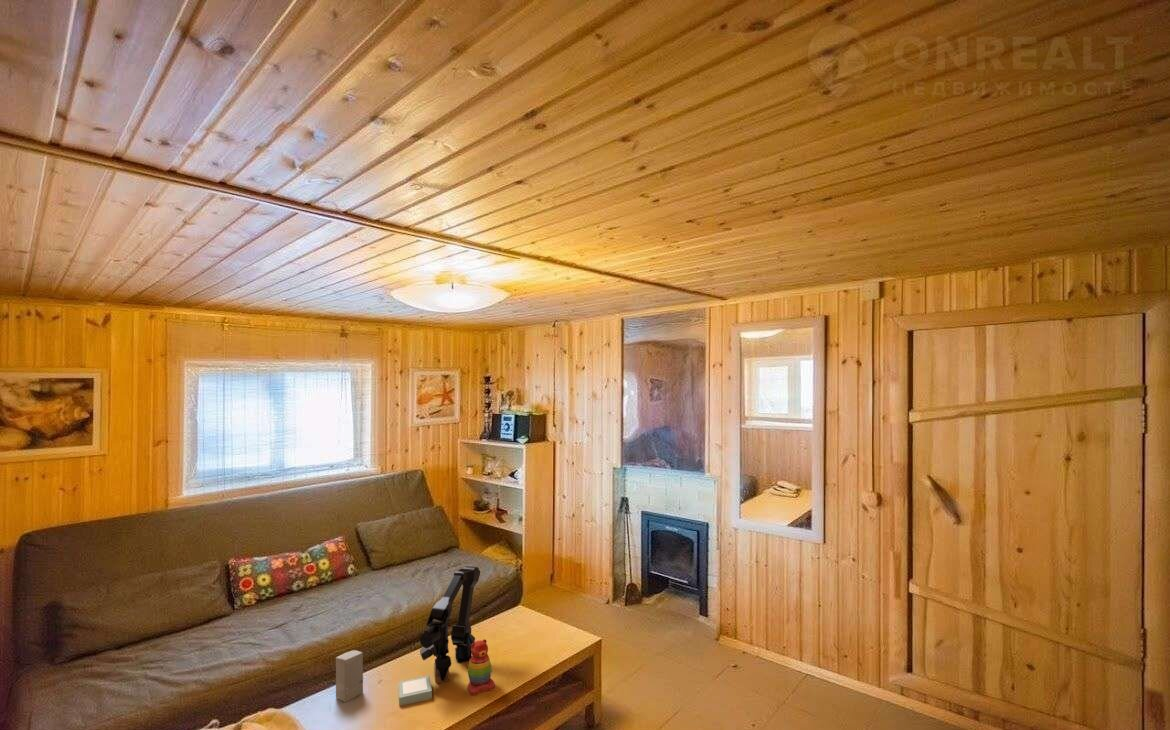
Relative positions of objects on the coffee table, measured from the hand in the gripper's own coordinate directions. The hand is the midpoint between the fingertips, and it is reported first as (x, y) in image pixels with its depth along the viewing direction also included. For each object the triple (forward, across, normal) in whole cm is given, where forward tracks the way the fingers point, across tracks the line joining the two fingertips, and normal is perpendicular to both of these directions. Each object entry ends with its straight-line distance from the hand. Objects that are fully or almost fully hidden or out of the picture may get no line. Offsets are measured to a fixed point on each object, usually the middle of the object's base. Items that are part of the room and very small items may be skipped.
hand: (441, 675), depth 220 cm
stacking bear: (+2, +13, +14) cm, 19 cm away
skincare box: (+2, -2, -35) cm, 35 cm away
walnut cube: (+1, 0, 0) cm, 1 cm away
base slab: (+1, +8, -11) cm, 14 cm away
